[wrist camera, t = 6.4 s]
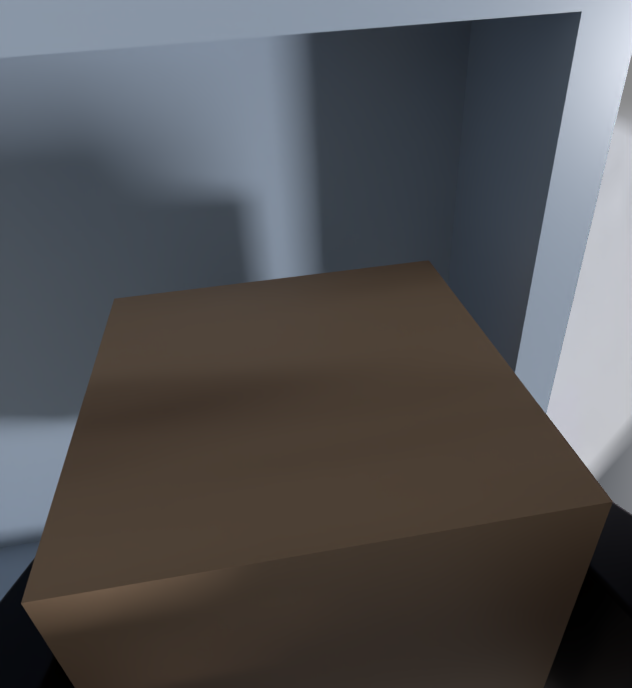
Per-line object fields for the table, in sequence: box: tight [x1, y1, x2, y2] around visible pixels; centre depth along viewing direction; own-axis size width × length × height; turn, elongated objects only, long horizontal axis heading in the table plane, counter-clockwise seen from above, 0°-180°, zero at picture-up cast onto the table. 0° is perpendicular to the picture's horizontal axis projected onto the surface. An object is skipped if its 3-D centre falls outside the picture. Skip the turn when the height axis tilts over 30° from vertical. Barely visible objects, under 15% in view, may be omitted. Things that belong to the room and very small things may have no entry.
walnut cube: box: [21, 260, 613, 688], centre depth 8 cm, size 5×5×5 cm
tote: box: [0, 0, 632, 601], centre depth 11 cm, size 14×18×4 cm
